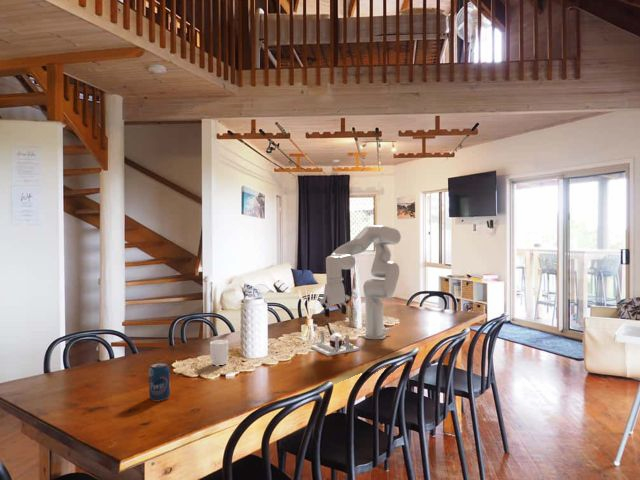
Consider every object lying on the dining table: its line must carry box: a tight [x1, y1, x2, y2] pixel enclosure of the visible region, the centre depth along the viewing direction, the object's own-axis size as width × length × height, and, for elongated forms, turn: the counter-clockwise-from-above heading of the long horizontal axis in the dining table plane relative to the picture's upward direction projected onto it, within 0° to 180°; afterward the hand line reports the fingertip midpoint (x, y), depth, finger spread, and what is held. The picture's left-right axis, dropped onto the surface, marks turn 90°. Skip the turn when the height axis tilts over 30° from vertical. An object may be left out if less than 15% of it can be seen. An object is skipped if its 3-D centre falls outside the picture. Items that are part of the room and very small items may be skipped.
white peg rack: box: [310, 328, 360, 357], centre depth 217 cm, size 18×16×8 cm
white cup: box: [209, 339, 229, 365], centre depth 195 cm, size 8×8×10 cm
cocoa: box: [325, 320, 345, 348], centre depth 217 cm, size 10×6×12 cm, turn 42°
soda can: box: [148, 361, 171, 402], centre depth 157 cm, size 7×7×12 cm
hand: (335, 315), depth 217 cm, fingers open, 9 cm apart
